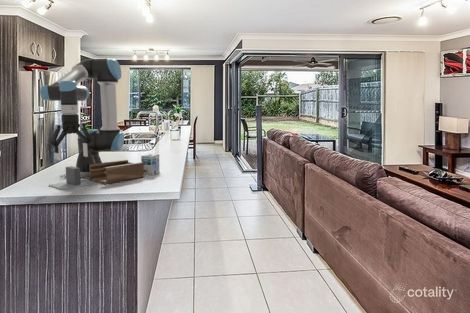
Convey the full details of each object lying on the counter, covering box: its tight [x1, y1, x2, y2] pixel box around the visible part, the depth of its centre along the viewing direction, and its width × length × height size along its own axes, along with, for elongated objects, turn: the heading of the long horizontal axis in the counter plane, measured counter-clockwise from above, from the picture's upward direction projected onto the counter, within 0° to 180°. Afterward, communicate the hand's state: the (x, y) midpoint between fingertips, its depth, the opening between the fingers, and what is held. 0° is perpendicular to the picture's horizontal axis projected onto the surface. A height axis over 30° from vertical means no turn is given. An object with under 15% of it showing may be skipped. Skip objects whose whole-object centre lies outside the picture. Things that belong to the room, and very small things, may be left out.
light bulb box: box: [140, 153, 160, 176], centre depth 220 cm, size 11×7×11 cm, turn 169°
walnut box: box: [89, 159, 145, 185], centre depth 204 cm, size 16×22×8 cm
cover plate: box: [48, 165, 99, 191], centre depth 189 cm, size 13×18×9 cm
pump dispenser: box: [75, 149, 95, 179], centre depth 209 cm, size 10×10×15 cm
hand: (72, 158), depth 188 cm, fingers open, 13 cm apart
